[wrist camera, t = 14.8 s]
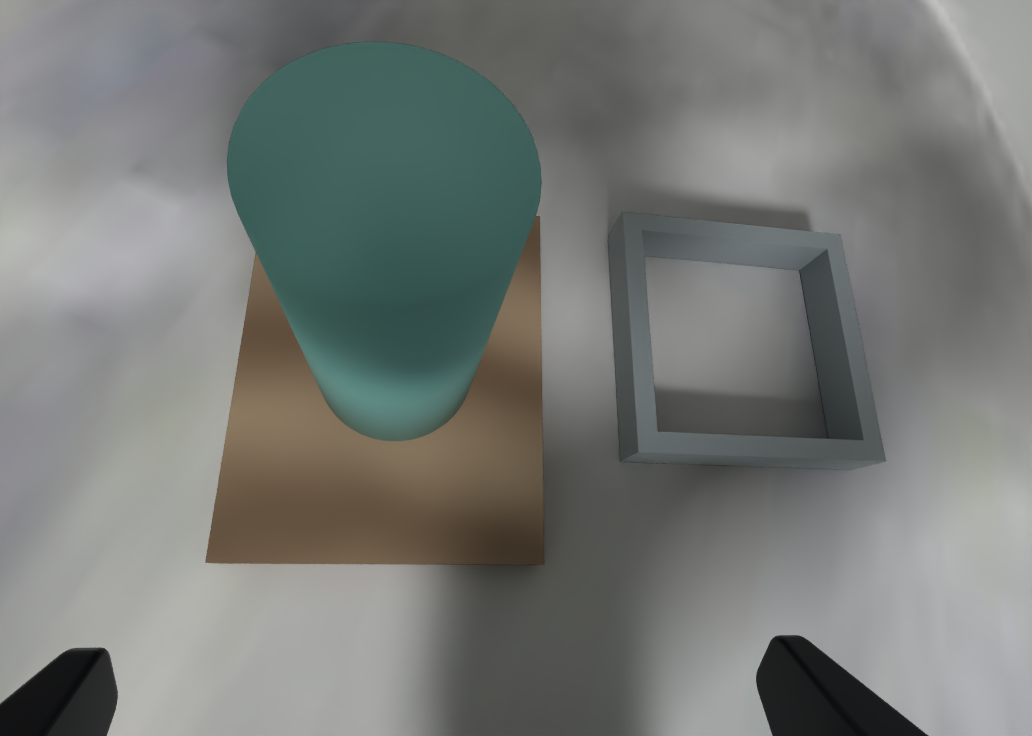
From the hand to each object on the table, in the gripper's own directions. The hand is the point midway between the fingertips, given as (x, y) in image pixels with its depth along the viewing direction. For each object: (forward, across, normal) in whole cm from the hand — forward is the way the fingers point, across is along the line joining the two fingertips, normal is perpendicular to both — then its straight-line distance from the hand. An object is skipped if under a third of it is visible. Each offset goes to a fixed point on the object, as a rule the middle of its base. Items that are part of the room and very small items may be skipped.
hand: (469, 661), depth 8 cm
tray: (+17, -12, +2) cm, 21 cm away
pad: (+16, +2, +4) cm, 16 cm away
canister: (+15, +2, +3) cm, 15 cm away
